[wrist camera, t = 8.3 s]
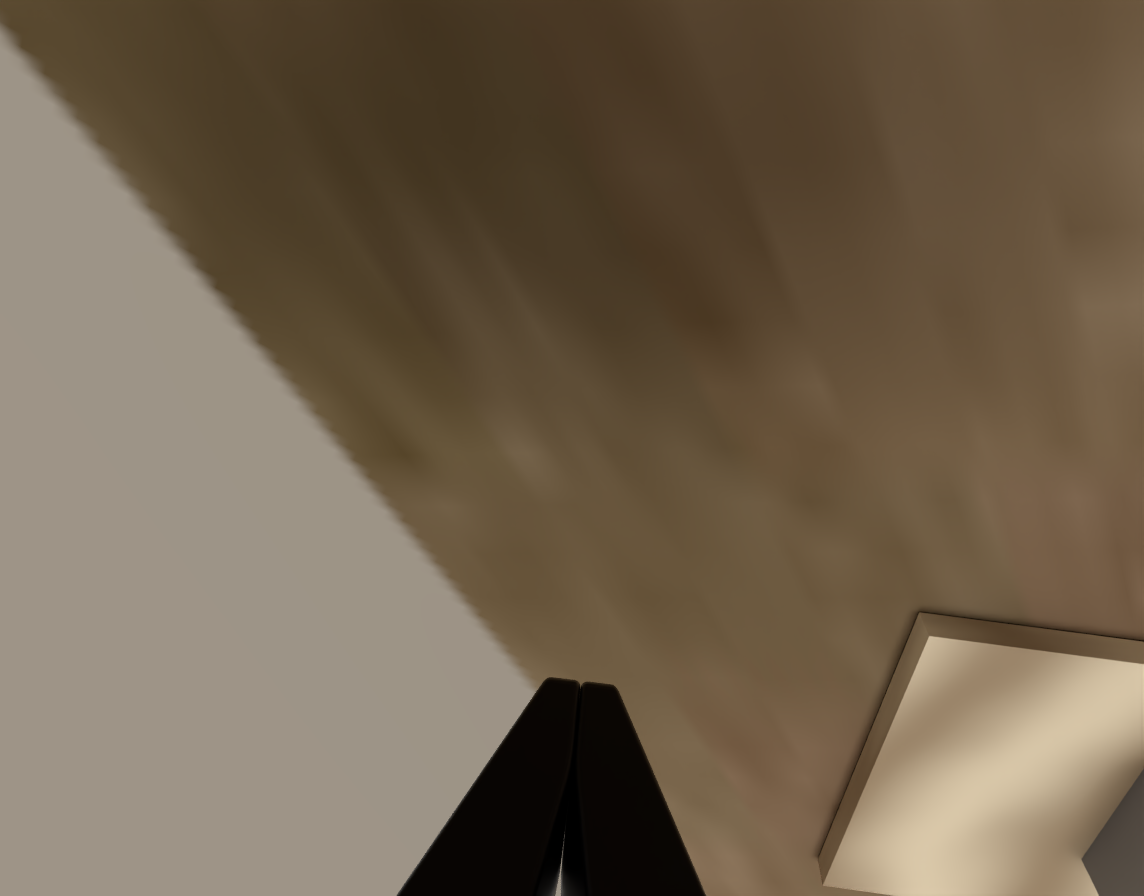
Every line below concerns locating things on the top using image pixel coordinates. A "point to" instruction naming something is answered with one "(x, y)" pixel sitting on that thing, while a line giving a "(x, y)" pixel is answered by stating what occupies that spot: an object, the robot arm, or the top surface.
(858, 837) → the board
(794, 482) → the top surface
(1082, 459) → the top surface
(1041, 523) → the top surface
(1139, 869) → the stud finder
